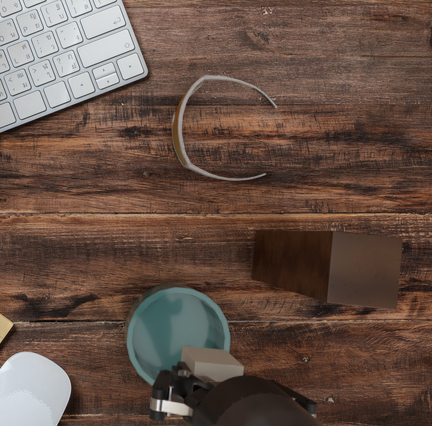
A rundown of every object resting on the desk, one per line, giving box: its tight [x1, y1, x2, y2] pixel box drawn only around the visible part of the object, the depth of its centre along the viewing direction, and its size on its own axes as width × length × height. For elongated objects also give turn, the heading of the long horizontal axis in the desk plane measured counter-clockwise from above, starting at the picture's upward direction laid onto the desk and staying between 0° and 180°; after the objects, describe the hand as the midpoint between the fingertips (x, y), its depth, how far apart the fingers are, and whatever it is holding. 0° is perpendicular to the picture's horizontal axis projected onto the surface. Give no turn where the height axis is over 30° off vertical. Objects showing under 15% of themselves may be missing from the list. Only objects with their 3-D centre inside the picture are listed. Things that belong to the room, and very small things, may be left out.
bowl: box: [123, 282, 232, 387], centre depth 65 cm, size 14×14×5 cm
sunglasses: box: [171, 74, 278, 182], centre depth 67 cm, size 14×15×5 cm
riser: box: [251, 229, 404, 311], centre depth 58 cm, size 7×7×22 cm
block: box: [181, 346, 245, 382], centre depth 46 cm, size 4×4×6 cm
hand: (205, 374), depth 48 cm, fingers closed on block, 4 cm apart
